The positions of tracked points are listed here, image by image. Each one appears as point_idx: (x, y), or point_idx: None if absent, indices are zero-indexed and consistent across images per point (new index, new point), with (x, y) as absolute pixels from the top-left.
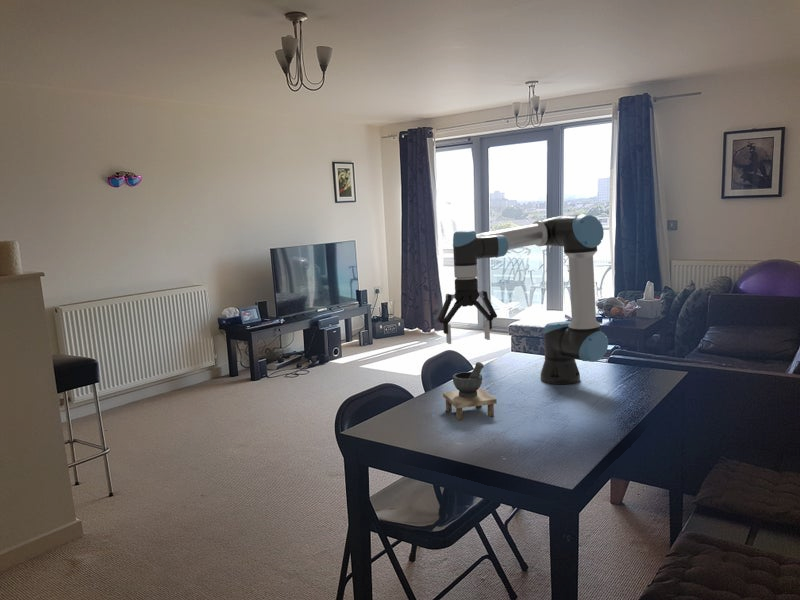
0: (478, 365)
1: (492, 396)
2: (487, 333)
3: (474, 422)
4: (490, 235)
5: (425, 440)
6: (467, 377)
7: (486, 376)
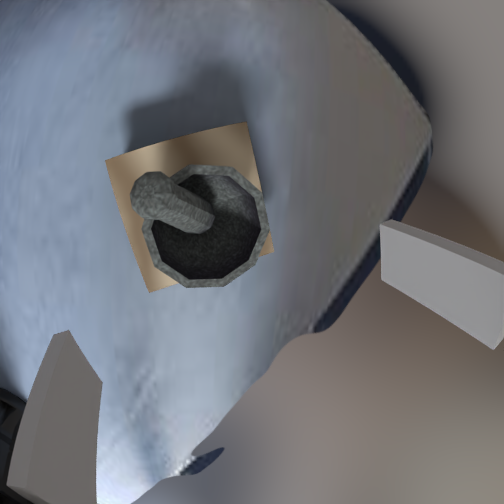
0: (160, 174)
1: (114, 191)
2: (55, 370)
3: (183, 118)
4: None
5: (311, 35)
6: (200, 270)
7: (149, 446)
